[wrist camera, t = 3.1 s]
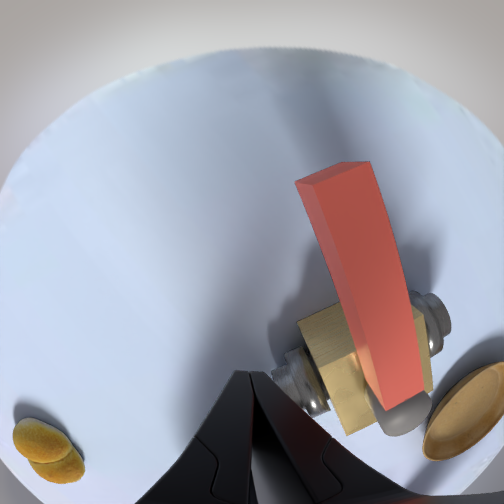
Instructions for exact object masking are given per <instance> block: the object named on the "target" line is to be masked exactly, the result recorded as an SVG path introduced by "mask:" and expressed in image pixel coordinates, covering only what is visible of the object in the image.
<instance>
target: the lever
mask: <svg viewBox="0 0 504 504" xmlns="http://www.w3.org/2000/svg"><path fill="white" fill-rule="evenodd" d="M295 185H296V187H297V190H298V192H299V194H300V197H301V199H302V202H303V204H304V207H305V209H306V212H307V214H308V217H309V219H310V222H311V224H312V227H313V229H314V232H315V235H316V237H317V240H318V242H319V245H320V248H321V250H322V253H323V256H324V258H325V261H326V264H327V266H328V269H329V272H330V275H331V277H332V280H333V283H334V286H335V288H336V291H337V294H338V297H339V300H340V303H341V305H342V308H343V311H344V314H345V317H346V320H347V323H348V326H349V329H350V332H351V335H352V338H353V341H354V344H355V347H356V350H357V353H358V357H359V360H360V363H361V366H362V369H363V373H364V376H365V379H366V381H367V383H368V384H367V386H366V388H365V391H364V398H365V400H366V402H367V404H368V406H369V407H370V409H371V411H372V412H373V414H374V416H375V418H376V419H377V421H378V423H379V425H380V426H381V428H382V430H383V432H384V433H385V434H386V435H388V436H400V435H403V434H406V433H408V432H410V431H412V430H413V429H415V428H416V427H418V426H419V425H420V424H421V423H422V422H423V421H424V420H425V419H426V417H427V416H428V414H429V412H430V410H431V407H432V400H431V398H430V397H429V395H428V394H427V393H426V392H425V391H424V381H423V374H422V366H421V360H420V353H419V347H418V341H417V335H416V330H415V324H414V319H413V314H412V309H411V304H410V299H409V295H408V290H407V286H406V281H405V277H404V273H403V269H402V265H401V261H400V257H399V253H398V250H397V246H396V242H395V239H394V235H393V232H392V228H391V225H390V221H389V218H388V215H387V211H386V208H385V205H384V202H383V199H382V196H381V193H380V190H379V187H378V184H377V181H376V178H375V175H374V172H373V169H372V167H371V164H370V162H341V163H338V164H336V165H333V166H331V167H328V168H326V169H324V170H321V171H319V172H316V173H314V174H311V175H309V176H307V177H304V178H302V179H300V180H297V181H295Z"/></svg>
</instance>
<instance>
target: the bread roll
mask: <svg viewBox="0 0 504 504" xmlns="http://www.w3.org/2000/svg"><path fill="white" fill-rule="evenodd" d="M13 441H14V445H15V447H16V449H17V450H18V451H19V452H20V453H21V454H22V455H23V456H24V457H26V458H27V459H28V461H29V463H30V465H31V466H32V468H33V469H34V470H35V472H36V473H37V474H38V475H39V476H41V477H42V478H44V479H46V480H47V481H50V482H53V483H58V484H65V483H72V482H76V481H79V480H80V479H81V477H82V476H83V475H84V472H85V465H84V462H83V459H82V457H81V456H80V454H79V453H78V451H77V450H76V449H75V448H74V447H73V445H72V443H71V441H70V440H69V439H68V437H67V436H66V435H65V434H64V433H63V432H62V431H60V430H58V429H57V428H55V427H53V426H51V425H49V424H47V423H45V422H42V421H40V420H37V419H35V418H25V419H22V420H21V421H19V422H18V424H17V425H16V426H15V427H14V430H13Z"/></svg>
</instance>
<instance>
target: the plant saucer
mask: <svg viewBox="0 0 504 504" xmlns="http://www.w3.org/2000/svg"><path fill="white" fill-rule="evenodd" d="M503 415H504V361H502V362H496V363H492V364H489V365H486V366H483V367H481V368H479V369H476V370H474V371H473V372H471V373H469V374H468V375H467V376H465V377H464V378H463V379H461V380H460V381H459V382H458V383H457V384H456V385H455V386H453V387H452V388H451V389H450V391H449V392H448V393H447V394H446V395H445V396H444V398H443V399H442V400H441V401H440V403H439V404H438V406H437V407H436V409H435V411H434V412H433V414H432V416H431V418H430V421H429V423H428V426H427V429H426V432H425V436H424V440H423V447H422V450H423V454H424V456H425V457H426V458H427V459H429V460H432V461H442V460H447V459H450V458H452V457H455V456H457V455H459V454H461V453H463V452H464V451H466V450H468V449H469V448H471V447H472V446H474V445H475V444H476V443H478V442H479V441H480V440H481V439H482V438H483V437H485V436H486V435H487V434H488V433H489V432H490V431H491V430H492V429H493V427H494V426H495V425H496V424H497V423H498V421H499V420H500V419H501V418H502V416H503Z"/></svg>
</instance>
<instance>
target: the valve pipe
mask: <svg viewBox="0 0 504 504" xmlns="http://www.w3.org/2000/svg"><path fill="white" fill-rule="evenodd" d="M408 295H409V299H410V304H411V309H412V314H413V319H414V324H415V330H416V335H417V341H418V347H419V353H420V360H421V366H422V374H423V381H424V391H425V392H426V393H427V394H428V393H429V392H431V391H432V390H433V381H432V371H431V362H430V358H431V357H433V356H434V355H436V354H438V353H439V352H441V351H442V349H443V345H444V340H443V338H444V337H445V336H447V335H448V334H450V332H451V320H450V316H449V314H448V311H447V309H446V307H445V305H444V304H443V302H442V301H441V300H440V299H439V298H438V297H437V296H436V295H435V294H433V293H428V294H426V295H425V296H422V295H421V294H419V293H418V292H416V291H411V292H409V293H408ZM297 324H298V326H299V328H300V331H301V333H302V335H303V338H304V340H305V342H306V345H307V347H308V349H309V352H310V354H309V355H306V352H305V350H304V348H303V346H301V347H298V348H296V349H294V350H291V351H289V352H287V353H284V356H285V359H286V362H287V364H286V365H284V366H282V367H279V368H277V369H274V370H272V377H273V381H274V382H275V383H276V384H277V385H278V386H279V387H280V388H281V389H282V390H283V391H284V392H285V393H286V394H287V395H288V396H289V397H290V398H291V399H292V400H293V401H294V402H295V403H296V404H297V405H298V406H299V407H301V408H302V409H303V410H305V409H306V410H307V411H308V413H309V415H310V417H311V418H314V417H316V416H319V415H321V414H323V413H326V412H328V411H330V407H329V405H328V403H327V400H328V399H330V400H331V402H332V404H333V407H334V409H335V411H336V413H337V416H338V418H339V420H340V422H341V425H342V427H343V429H344V431H345V434H346V436H348V435H350V434H352V433H354V432H357V431H359V430H361V429H363V428H365V427H367V426H369V425H371V424H373V423H375V422H377V419H376V418H375V416H374V414H373V412H372V411H371V409H370V407H369V406H368V404H367V402H366V400H365V398H364V391H365V388H366V386H367V384H368V383H367V381H366V379H365V376H364V373H363V369H362V366H361V363H360V360H359V357H358V353H357V350H356V347H355V344H354V341H353V338H352V335H351V332H350V329H349V326H348V323H347V320H346V317H345V314H344V311H343V308H342V305H341V303H340V302H338V303H336V304H334V305H332V306H330V307H328V308H326V309H324V310H322V311H319V312H317V313H315V314H313V315H311V316H309V317H306V318H304V319H302V320H300V321H297Z"/></svg>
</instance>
